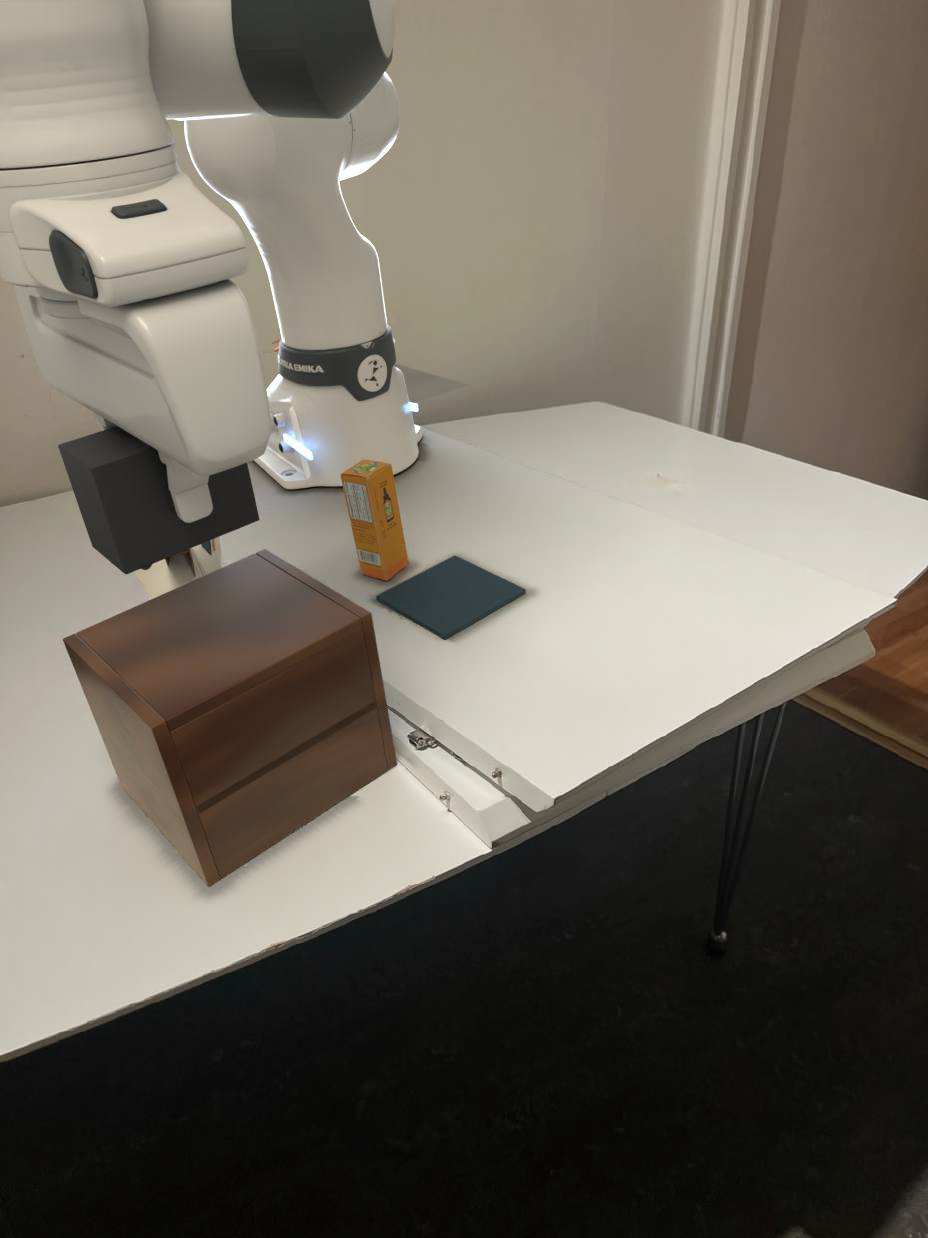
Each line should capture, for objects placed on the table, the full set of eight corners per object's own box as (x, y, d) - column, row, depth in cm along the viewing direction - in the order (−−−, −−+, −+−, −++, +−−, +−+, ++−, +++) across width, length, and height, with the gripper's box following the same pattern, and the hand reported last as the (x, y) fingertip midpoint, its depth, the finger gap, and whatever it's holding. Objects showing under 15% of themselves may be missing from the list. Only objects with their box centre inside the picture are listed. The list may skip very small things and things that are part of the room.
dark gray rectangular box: (92, 547, 50) (56, 444, 46) (222, 497, 54) (198, 399, 50) (125, 575, 47) (90, 468, 43) (260, 520, 51) (238, 418, 47)
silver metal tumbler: (166, 680, 70) (107, 504, 62) (154, 635, 75) (99, 469, 67) (254, 653, 72) (209, 479, 64) (236, 612, 77) (193, 447, 69)
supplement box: (380, 557, 83) (364, 455, 78) (410, 565, 81) (395, 462, 76) (356, 574, 81) (338, 470, 76) (386, 583, 79) (370, 478, 74)
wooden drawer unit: (121, 786, 60) (61, 638, 54) (298, 689, 68) (264, 548, 61) (208, 887, 52) (151, 728, 46) (397, 764, 60) (372, 612, 53)
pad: (376, 599, 77) (375, 595, 77) (455, 558, 82) (454, 554, 82) (445, 639, 71) (444, 635, 71) (526, 593, 76) (525, 589, 76)
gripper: (-47, 216, 46) (42, 465, 54) (116, 268, 33) (203, 589, 41) (73, 194, 50) (141, 433, 57) (265, 235, 36) (320, 538, 44)
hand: (168, 499), depth 49 cm, fingers closed on dark gray rectangular box, 4 cm apart
